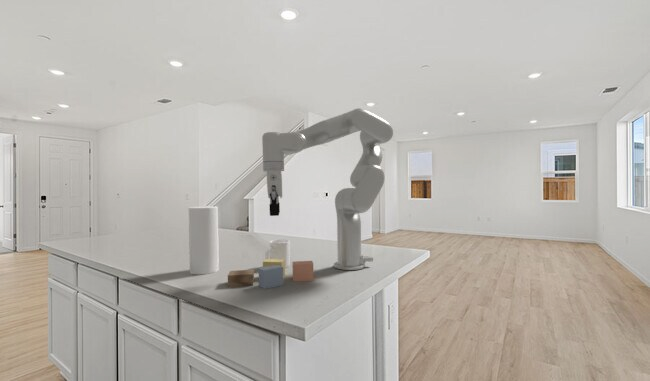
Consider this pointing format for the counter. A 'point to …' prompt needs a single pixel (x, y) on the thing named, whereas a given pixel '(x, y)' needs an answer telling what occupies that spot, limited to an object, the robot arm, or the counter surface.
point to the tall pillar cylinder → (203, 239)
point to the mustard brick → (275, 263)
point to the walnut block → (241, 278)
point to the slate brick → (270, 276)
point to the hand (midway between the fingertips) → (274, 214)
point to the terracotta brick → (303, 271)
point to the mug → (279, 251)
